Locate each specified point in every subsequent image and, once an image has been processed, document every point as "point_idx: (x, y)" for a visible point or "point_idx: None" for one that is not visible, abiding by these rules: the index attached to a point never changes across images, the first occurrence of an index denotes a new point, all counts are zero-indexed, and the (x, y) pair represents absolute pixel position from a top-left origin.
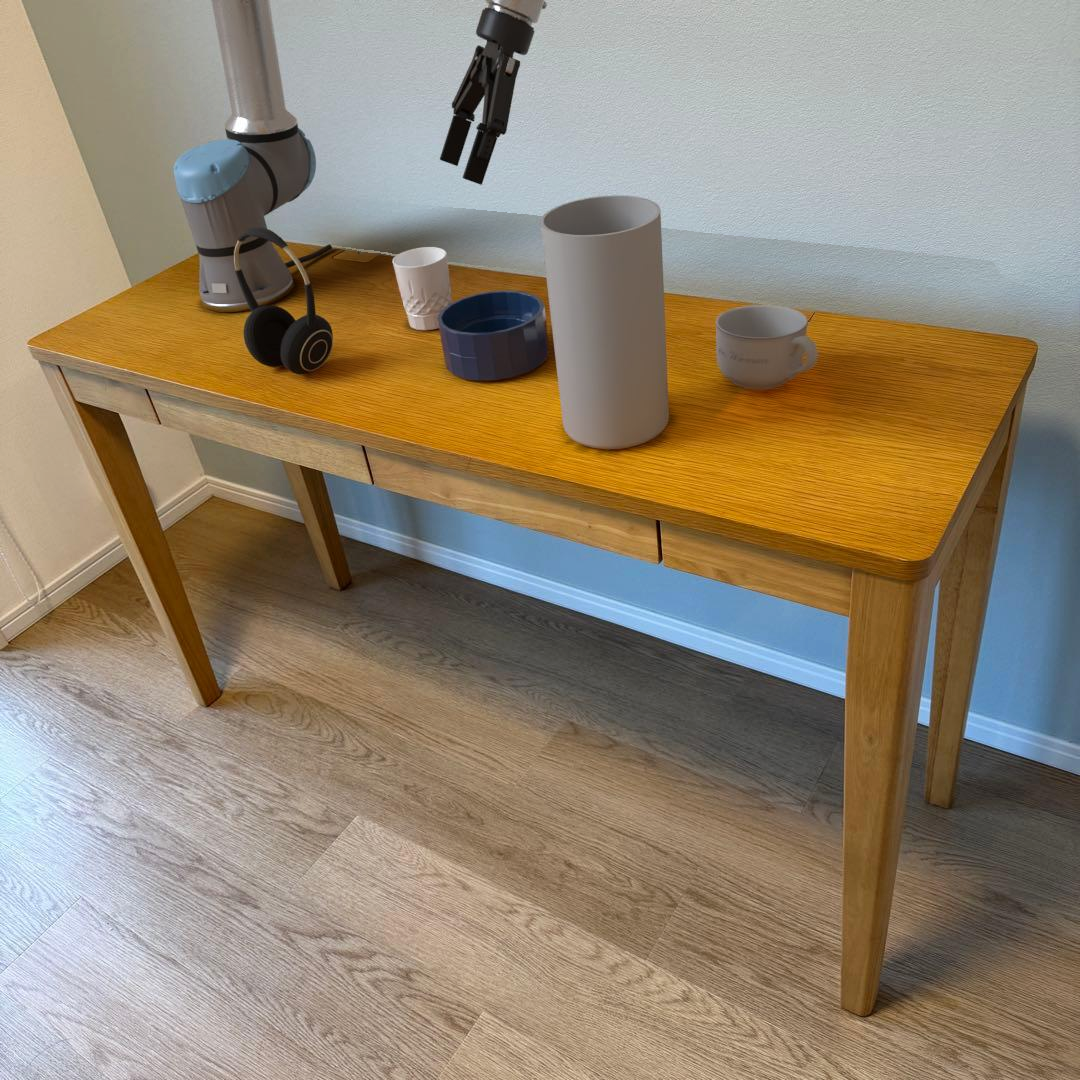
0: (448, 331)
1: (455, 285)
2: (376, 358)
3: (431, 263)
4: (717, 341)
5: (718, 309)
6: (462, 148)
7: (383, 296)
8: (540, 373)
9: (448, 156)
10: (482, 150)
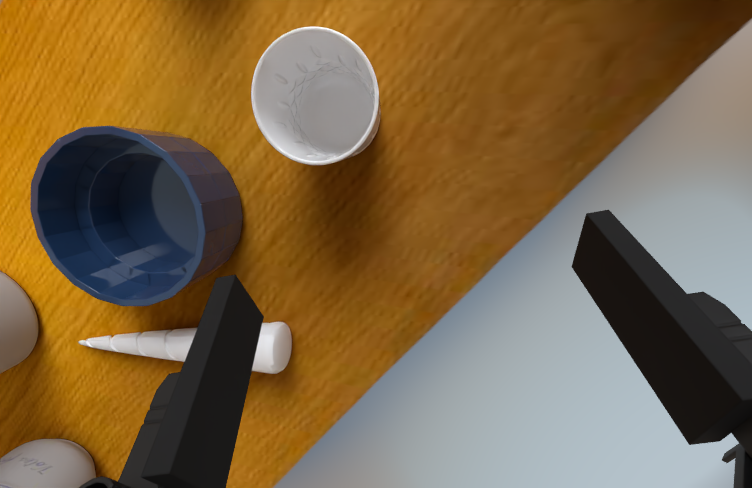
0: (55, 143)
1: (490, 170)
2: (225, 15)
3: (259, 126)
4: (9, 466)
5: (249, 481)
6: (608, 319)
7: (503, 23)
8: None
9: (591, 249)
10: (154, 408)
